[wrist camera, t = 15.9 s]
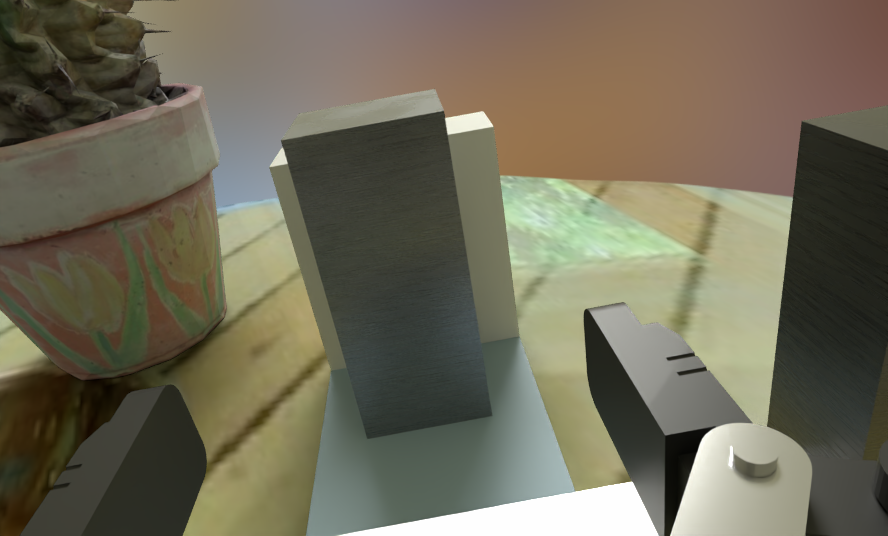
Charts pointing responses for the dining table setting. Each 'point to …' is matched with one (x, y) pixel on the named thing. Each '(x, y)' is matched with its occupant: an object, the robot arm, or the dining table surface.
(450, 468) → the vise
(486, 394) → the steel block
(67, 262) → the potted plant
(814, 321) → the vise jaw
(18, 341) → the dining table surface
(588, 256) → the dining table surface
